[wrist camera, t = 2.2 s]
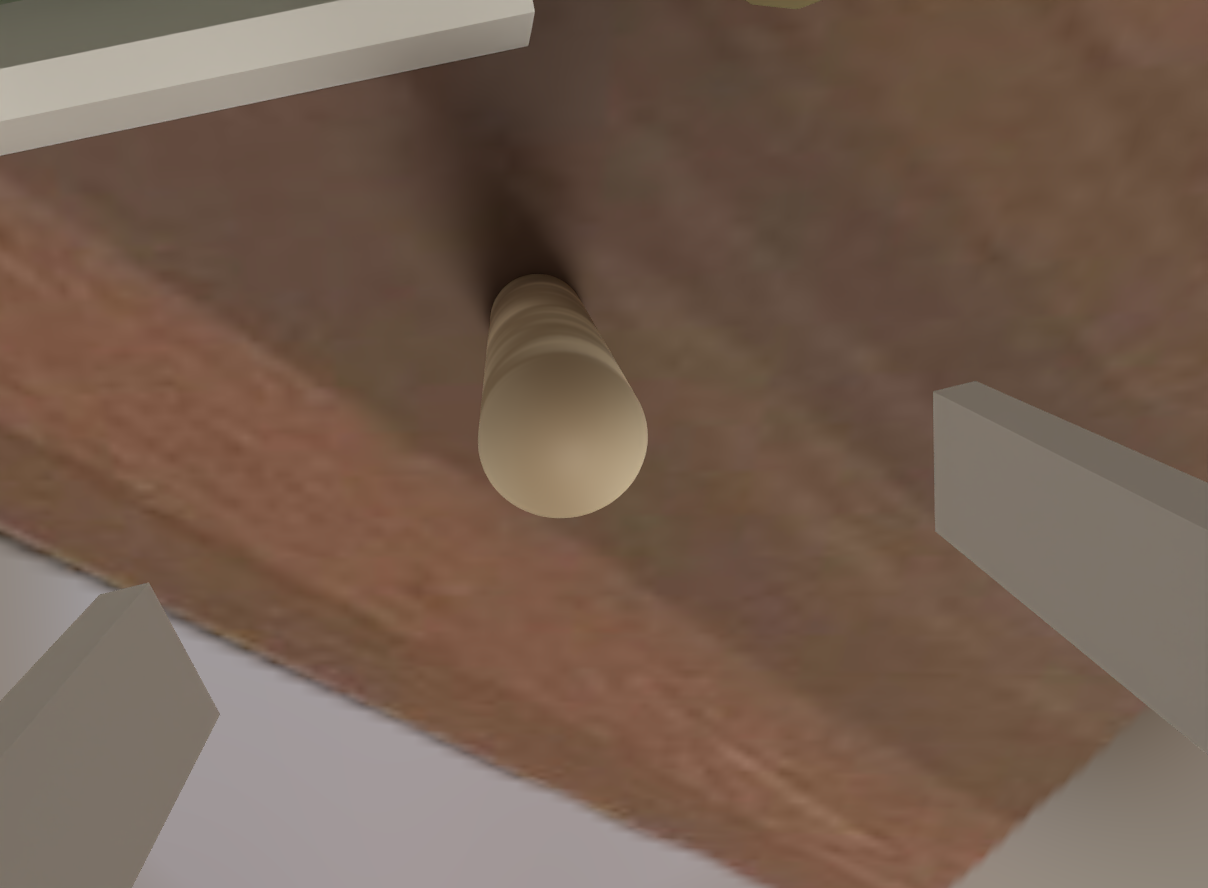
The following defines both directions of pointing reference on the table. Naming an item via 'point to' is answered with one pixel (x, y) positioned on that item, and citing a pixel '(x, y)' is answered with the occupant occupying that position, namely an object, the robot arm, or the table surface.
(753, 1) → the squeeze bottle
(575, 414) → the peg
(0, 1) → the bore plate
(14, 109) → the open box
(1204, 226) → the table surface
